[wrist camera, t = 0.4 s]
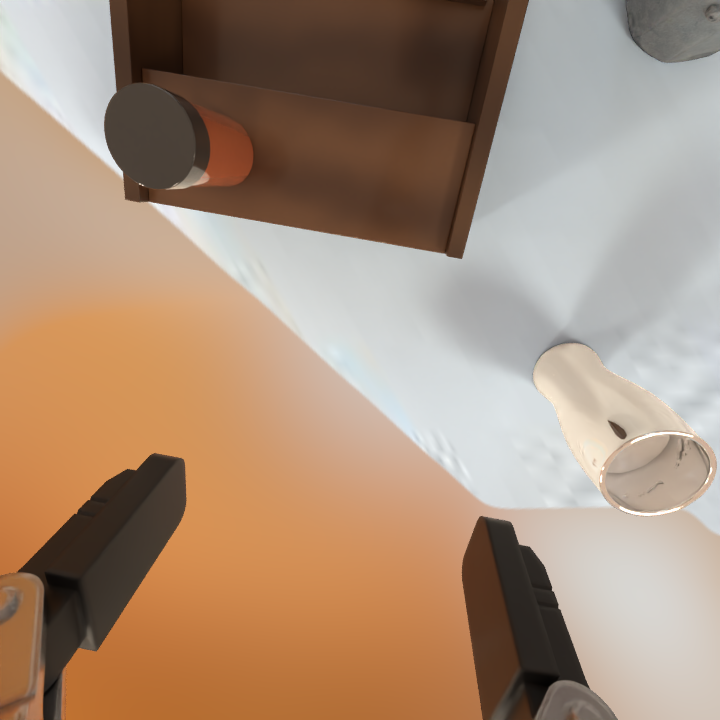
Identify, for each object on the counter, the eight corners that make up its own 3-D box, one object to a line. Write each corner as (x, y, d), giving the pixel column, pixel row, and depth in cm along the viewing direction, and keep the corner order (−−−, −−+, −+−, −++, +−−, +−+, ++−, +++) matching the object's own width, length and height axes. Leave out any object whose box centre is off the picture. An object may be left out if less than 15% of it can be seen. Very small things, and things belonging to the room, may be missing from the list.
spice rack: (194, -27, 29) (98, -125, 20) (497, 22, 28) (543, -55, 19) (197, 195, 35) (124, 199, 26) (446, 239, 34) (462, 259, 25)
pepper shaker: (189, 107, 24) (98, 74, 17) (257, 119, 24) (194, 90, 17) (190, 182, 26) (108, 181, 19) (254, 193, 26) (196, 196, 19)
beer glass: (599, 328, 36) (719, 414, 23) (609, 392, 39) (723, 506, 25) (520, 350, 38) (588, 444, 24) (535, 411, 40) (604, 528, 26)
